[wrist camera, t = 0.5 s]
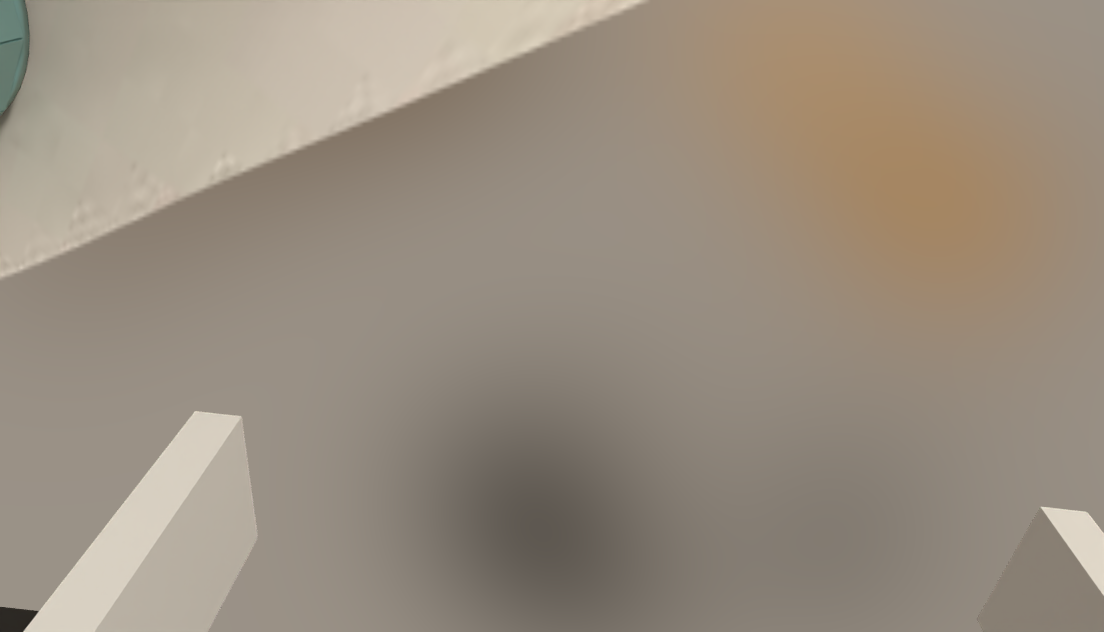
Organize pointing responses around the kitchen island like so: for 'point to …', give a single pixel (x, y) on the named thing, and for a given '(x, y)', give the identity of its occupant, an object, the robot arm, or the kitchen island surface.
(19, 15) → the bowl
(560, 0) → the kitchen island surface
